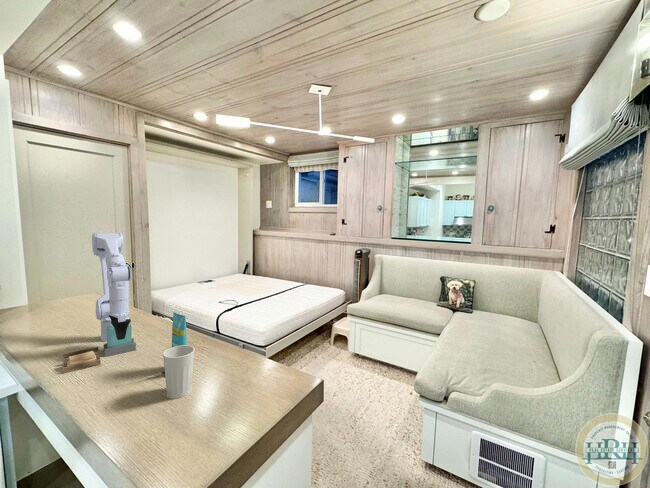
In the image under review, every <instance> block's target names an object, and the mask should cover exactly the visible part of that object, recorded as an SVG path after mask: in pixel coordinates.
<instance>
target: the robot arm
mask: <svg viewBox="0 0 650 488" xmlns="http://www.w3.org/2000/svg"><path fill="white" fill-rule="evenodd" d="M91 245H92V252H93V255H95V256H96V257H98V258H99V261H100V263H101V264H100V266H101V277H102V287H103V288H102V290H103V295H102V296H101V297H99V298H97V300H96V302H95V318H96V320H98V321H100V341H101V342H106V343H107V327H111V326H113V327H114V329H115V333H116V337H117V340H121V339H125V336H126V331H127V328H128V325H129V323H131V321H132V319H131V318H130V317H129V313H130V311H131V309H130V289H129V288H130V281H131V279H132V270H131V267H130V265H129V264H126V260H125V256H124V255H123V254H122V250H123V246H124V235H123V234H122V233H121V232H117V233H116V232H115V233H114V232H112V233H110V232H107V233H106V232H105V233H104V232H93V233H92V235H91Z"/></svg>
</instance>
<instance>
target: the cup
mask: <svg viewBox="0 0 650 488" xmlns="http://www.w3.org/2000/svg"><path fill="white" fill-rule="evenodd" d="M195 350H196V348H195V347H194V346H192V345H188V344H187V345H181V346H175V347H172V346H171V347H169V348H167V349H166V350H164V351H163V353H162V357H163V366H164V378H165V379H164V380H165V386H166V387H165V389H166V397H167V398H169V399H173V400H175V399H181V398H184V397H186V396H188V395H189V394H190V393H191V392H192V390H193V389H192V387H193V386H192V383H193V373H194V372H193V371H194V360H195Z"/></svg>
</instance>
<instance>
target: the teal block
mask: <svg viewBox="0 0 650 488" xmlns="http://www.w3.org/2000/svg"><path fill="white" fill-rule="evenodd" d="M132 330H133V329H132V324H131V322H130V323H129V325H128V328H127V331H126V336H125V339H121V340H117V337H116V333H115V329H114V327H113V326H111V327H107V342H106V343H107V348H110V347H115V346H120V345H125V344H129V343H132V338H133V336H132Z"/></svg>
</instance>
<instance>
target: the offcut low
mask: <svg viewBox="0 0 650 488" xmlns="http://www.w3.org/2000/svg"><path fill="white" fill-rule="evenodd" d="M95 360H96V355H95V359H91V360H87V361H83V362H79V363H76V364H72V365H70V363H69V361H68V363H67V367H69V366H74V365H78V364H82V363H87V362H91V361H95Z"/></svg>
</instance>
